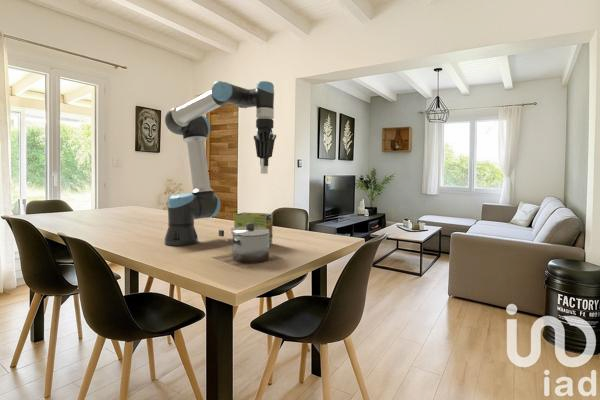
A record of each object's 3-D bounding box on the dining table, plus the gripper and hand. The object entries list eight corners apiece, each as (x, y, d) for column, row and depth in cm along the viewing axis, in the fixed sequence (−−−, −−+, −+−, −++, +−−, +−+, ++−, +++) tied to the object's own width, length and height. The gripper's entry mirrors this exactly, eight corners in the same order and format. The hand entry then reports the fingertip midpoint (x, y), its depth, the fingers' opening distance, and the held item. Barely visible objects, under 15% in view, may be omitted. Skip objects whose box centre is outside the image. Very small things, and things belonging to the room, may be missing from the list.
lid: (222, 231, 128) (222, 222, 128) (251, 227, 139) (252, 219, 138) (247, 238, 118) (247, 228, 118) (276, 233, 129) (276, 224, 128)
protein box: (266, 250, 147) (266, 216, 146) (233, 248, 150) (233, 214, 149) (272, 245, 158) (273, 213, 156) (242, 243, 161) (242, 211, 159)
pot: (216, 258, 127) (216, 230, 126) (255, 250, 142) (256, 225, 141) (242, 267, 117) (242, 236, 116) (281, 257, 131) (281, 230, 130)
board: (211, 260, 129) (211, 257, 129) (251, 252, 144) (251, 249, 144) (243, 271, 116) (243, 268, 116) (283, 261, 131) (283, 258, 130)
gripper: (248, 119, 145) (248, 173, 147) (267, 116, 136) (267, 173, 138) (262, 121, 151) (261, 173, 153) (281, 118, 142) (280, 174, 144)
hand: (264, 173), depth 146 cm, fingers closed
